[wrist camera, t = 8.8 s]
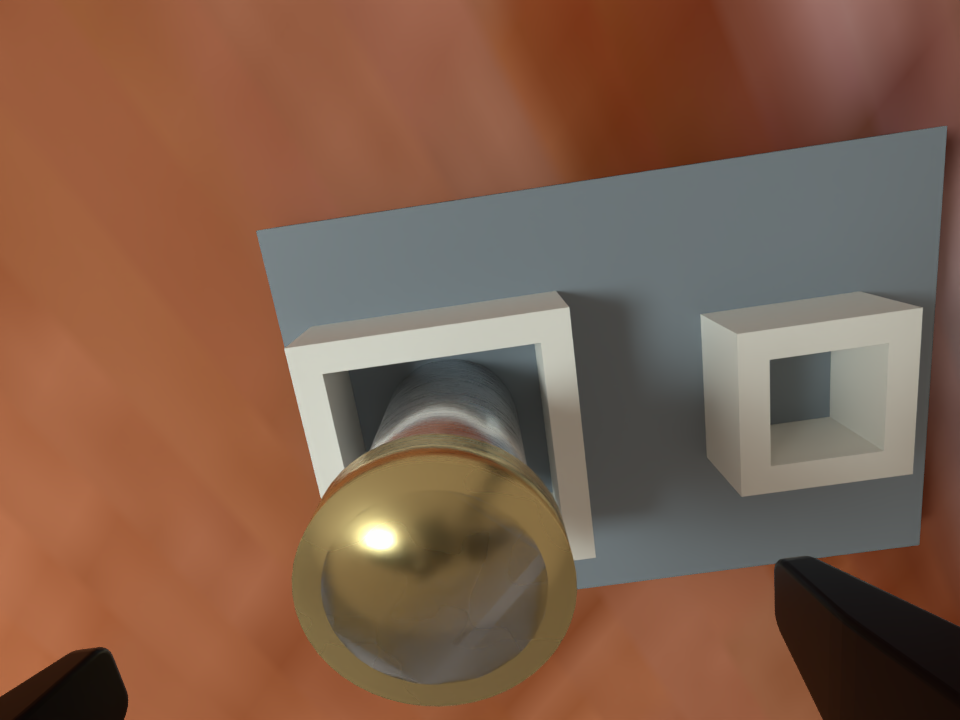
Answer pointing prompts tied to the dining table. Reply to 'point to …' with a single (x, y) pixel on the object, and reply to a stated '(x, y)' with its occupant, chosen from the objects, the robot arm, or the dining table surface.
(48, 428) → the dining table surface
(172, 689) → the dining table surface
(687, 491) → the board
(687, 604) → the dining table surface
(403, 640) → the gold capped canister
